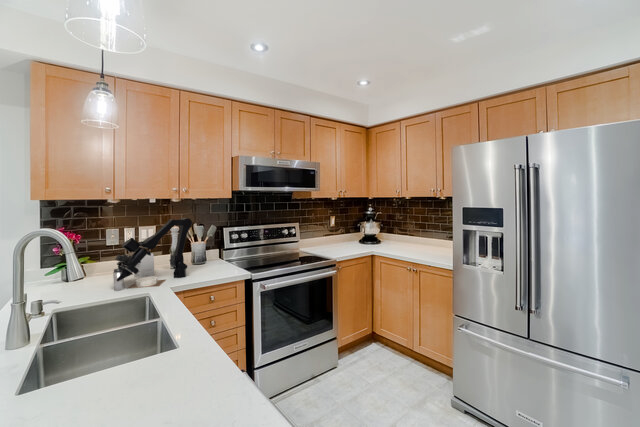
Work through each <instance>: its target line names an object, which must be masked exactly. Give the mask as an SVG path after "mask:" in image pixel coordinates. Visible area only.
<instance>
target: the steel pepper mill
mask: <svg viewBox="0 0 640 427" xmlns="http://www.w3.org/2000/svg"><path fill="white" fill-rule="evenodd" d="M122 271H123V270H122V268H118V267H117V268H114V269H113V272H112V274H113V291H114V292H119V291H123V290H125V284H124V282H125V281H124V280H125V278H124V279H122V280H120V281H117V278H118V277H119V276H120V274H121V273H122Z"/></svg>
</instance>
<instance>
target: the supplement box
mask: <svg viewBox="0 0 640 427" xmlns="http://www.w3.org/2000/svg"><path fill="white" fill-rule="evenodd" d="M154 257H155V256H154V253H151V256H149V255H146V256H145V257H144V258H143V259H142V260H141V261H140V262H141V263H138V264H137V266H136V268H137V269H138V270H139V272H138V273H137V274H134V273H133V274H134V277H136V278H139V277H140V278H144V277H152V276H155V258H154ZM151 275H152V276H151Z"/></svg>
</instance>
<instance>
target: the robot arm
mask: <svg viewBox="0 0 640 427" xmlns="http://www.w3.org/2000/svg"><path fill="white" fill-rule="evenodd" d="M192 225H193V221H192V220H191V219H190V218H187V217H183V218H180V219H174V218H173V219H171V218H170V219H168V221H167V222H165V224H163V226H161V227H160V228H159V229H158V230H157V231H156V232H155V233H154V234H152V235H151V236H149V237H147V238H145V239H144V240H143V241H141V242H138V241H137V240H136V239H135V238H133V237H130V238H129V239H127V240H126V241H124V242H123V243H122V245H121V247H122V248H123V249H125V250H126V251H128V252H129V253H133V254H131V255H130V254H129V255H127V254H123V255H121V254H117V255H116V257H115V258H114V259H115V261H117V263H116V265H117V269H118V268H122V270H123V271H122V273H121V274H120V276H119V277H118V278H117V281H120V280H122V279H124V280H125V279H126V278H128V277H129V276H132V275H133V274H137V273H138V272H139V270H138V269H137V268H136V266H137V264H138V263H141V262H140V261H141V260H142V259H143V258H144V257H145V256H146V255H149V256H151V250H154V249H155V248H156V247H157V246H158V244H159V242H160V241H161V239H162V238H163V237H164V236H165V235H166V234H168V232H169V231H170V230H172V229H173V228H174V226H178V230H179V233H178V238H177V242H176V246H175V250H174V254H171V255H170V258H169V260H168V261H169V265H171V267H172V268H173V269H174V270H173V278H174V279H183V278H186V277H187V268H188V265H187V264H186V263H185V262H184V260H185V259H184V250H185V245H186V240H187V235H188V232H190V229H191V227H192Z"/></svg>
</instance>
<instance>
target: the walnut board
mask: <svg viewBox="0 0 640 427" xmlns="http://www.w3.org/2000/svg"><path fill="white" fill-rule="evenodd" d="M166 281H167V279H158V283H157V284H154V285H151V286H144V287H138V286H136V282H135V281H134V283H132V284H131V285H129V286H128V287H126V289H140V288H141V289H142V288H152V287H160V286H162V284H164V283H165V282H166Z"/></svg>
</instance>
